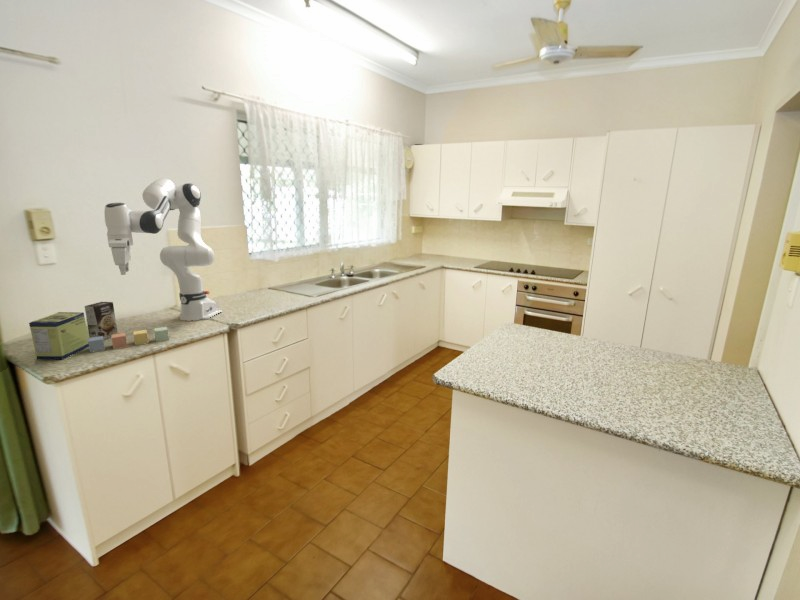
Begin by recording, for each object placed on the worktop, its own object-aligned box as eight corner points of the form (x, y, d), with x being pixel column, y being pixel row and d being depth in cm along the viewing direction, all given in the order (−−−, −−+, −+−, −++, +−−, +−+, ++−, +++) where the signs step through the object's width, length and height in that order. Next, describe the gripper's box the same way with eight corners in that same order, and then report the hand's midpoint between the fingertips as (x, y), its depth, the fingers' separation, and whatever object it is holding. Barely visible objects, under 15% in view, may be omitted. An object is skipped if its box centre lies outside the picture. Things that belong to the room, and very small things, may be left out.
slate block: (104, 346, 175) (102, 335, 174) (104, 350, 171) (102, 339, 170) (90, 349, 172) (88, 338, 171) (90, 352, 168) (88, 341, 167)
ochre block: (147, 340, 184) (146, 329, 183) (148, 343, 180) (147, 332, 179) (134, 342, 181) (133, 331, 180) (135, 345, 177) (133, 334, 176)
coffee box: (101, 341, 181) (95, 306, 177) (89, 340, 182) (83, 305, 178) (118, 334, 190) (113, 301, 186) (107, 333, 191) (101, 300, 187)
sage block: (167, 336, 189) (166, 326, 187) (168, 339, 185) (167, 329, 184) (155, 338, 186) (153, 328, 185) (156, 341, 182) (154, 331, 181)
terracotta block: (126, 343, 180) (125, 332, 178) (127, 346, 176) (125, 335, 174) (113, 345, 177) (111, 334, 176) (113, 348, 173) (111, 337, 172)
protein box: (90, 346, 175) (84, 311, 172) (62, 360, 160) (55, 322, 156) (66, 345, 175) (59, 311, 171) (35, 359, 160) (27, 322, 156)
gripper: (115, 239, 181) (119, 269, 184) (107, 243, 163) (112, 277, 166) (132, 239, 184) (136, 269, 187) (126, 243, 166) (130, 276, 169)
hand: (125, 273), depth 176 cm, fingers open, 8 cm apart
